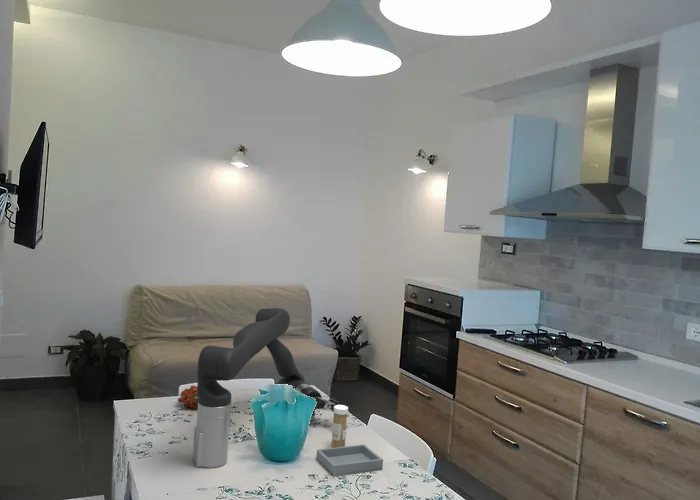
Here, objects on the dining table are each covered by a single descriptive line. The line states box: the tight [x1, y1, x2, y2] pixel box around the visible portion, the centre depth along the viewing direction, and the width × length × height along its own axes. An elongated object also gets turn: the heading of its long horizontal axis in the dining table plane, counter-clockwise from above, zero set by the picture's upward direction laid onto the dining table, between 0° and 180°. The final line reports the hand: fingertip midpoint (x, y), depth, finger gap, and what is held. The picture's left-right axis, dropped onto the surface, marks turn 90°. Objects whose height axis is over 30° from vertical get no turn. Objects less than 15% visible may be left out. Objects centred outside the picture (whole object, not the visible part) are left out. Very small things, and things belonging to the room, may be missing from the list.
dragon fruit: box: [177, 385, 198, 410], centre depth 212 cm, size 8×8×12 cm
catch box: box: [315, 444, 384, 477], centre depth 172 cm, size 16×12×3 cm
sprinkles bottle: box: [330, 404, 349, 448], centre depth 184 cm, size 5×5×14 cm
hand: (325, 412), depth 194 cm, fingers open, 8 cm apart
